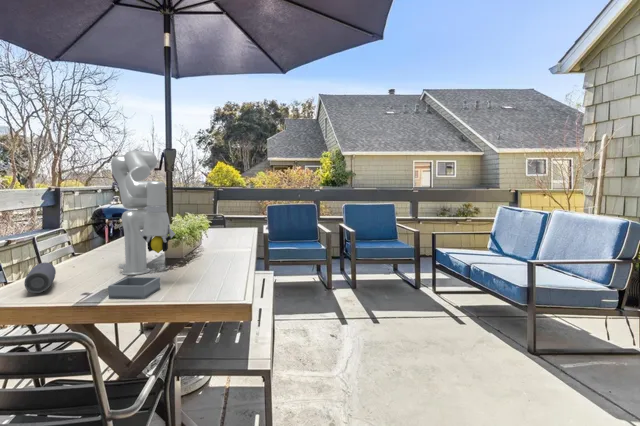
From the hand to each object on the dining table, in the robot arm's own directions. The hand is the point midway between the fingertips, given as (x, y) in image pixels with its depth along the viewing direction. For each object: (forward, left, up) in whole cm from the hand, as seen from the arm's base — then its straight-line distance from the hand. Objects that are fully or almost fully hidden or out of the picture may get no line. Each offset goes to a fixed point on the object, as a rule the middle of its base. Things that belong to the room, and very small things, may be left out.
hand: (157, 250), depth 165 cm
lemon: (0, 0, -1) cm, 1 cm away
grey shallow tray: (-4, -13, -15) cm, 21 cm away
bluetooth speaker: (-46, -8, -16) cm, 50 cm away
